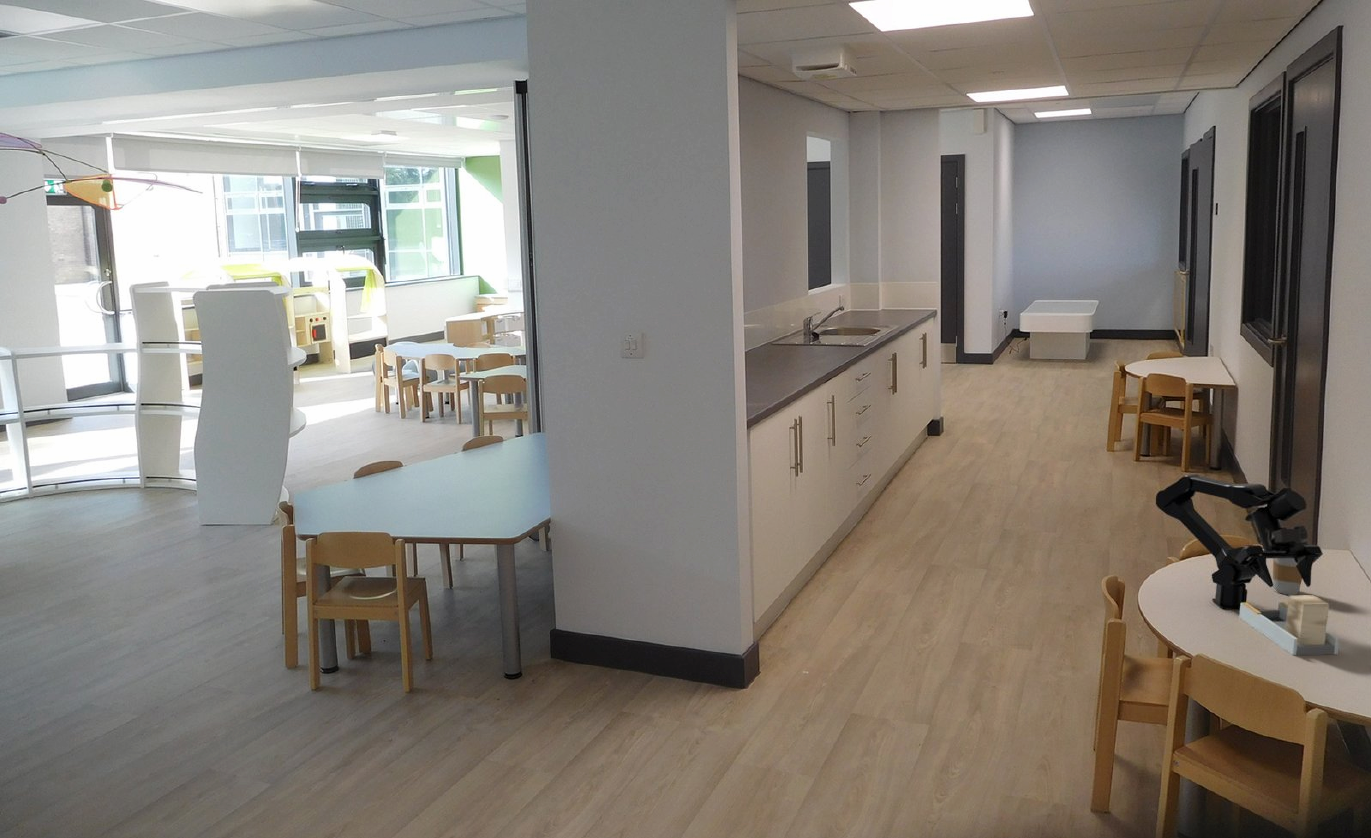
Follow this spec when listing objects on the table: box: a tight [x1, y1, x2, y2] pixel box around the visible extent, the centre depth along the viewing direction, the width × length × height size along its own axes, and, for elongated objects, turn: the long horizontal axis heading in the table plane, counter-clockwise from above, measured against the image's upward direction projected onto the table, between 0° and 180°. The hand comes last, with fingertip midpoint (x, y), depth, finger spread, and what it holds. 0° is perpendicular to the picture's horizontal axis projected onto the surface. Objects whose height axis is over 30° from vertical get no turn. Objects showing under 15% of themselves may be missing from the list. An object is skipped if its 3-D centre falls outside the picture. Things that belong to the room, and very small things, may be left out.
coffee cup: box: [1272, 539, 1309, 596], centre depth 296 cm, size 8×8×15 cm
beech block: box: [1285, 594, 1330, 645], centre depth 258 cm, size 6×6×10 cm
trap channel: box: [1238, 601, 1340, 656], centre depth 267 cm, size 24×11×4 cm, turn 1°
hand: (1290, 586), depth 265 cm, fingers open, 9 cm apart
